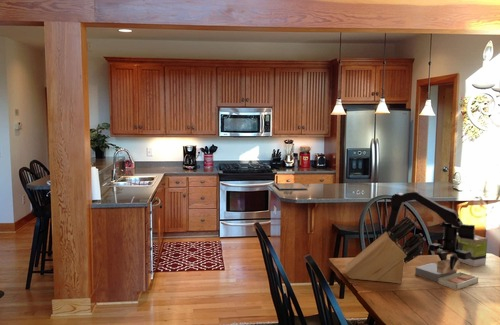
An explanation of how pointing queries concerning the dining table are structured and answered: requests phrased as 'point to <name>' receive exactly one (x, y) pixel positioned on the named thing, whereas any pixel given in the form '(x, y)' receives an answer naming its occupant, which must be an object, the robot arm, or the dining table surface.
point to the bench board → (431, 272)
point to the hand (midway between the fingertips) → (448, 268)
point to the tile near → (455, 280)
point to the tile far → (465, 277)
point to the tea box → (474, 250)
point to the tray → (446, 283)
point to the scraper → (447, 266)
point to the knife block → (387, 255)
